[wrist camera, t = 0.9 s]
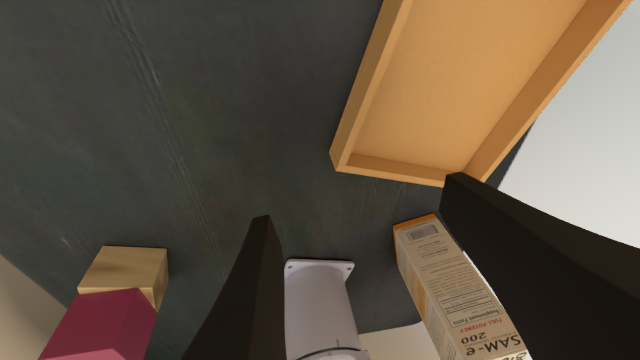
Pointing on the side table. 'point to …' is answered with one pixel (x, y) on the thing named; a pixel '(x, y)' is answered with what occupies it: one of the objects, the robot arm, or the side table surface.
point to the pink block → (103, 327)
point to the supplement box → (453, 296)
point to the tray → (460, 82)
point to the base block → (128, 272)
